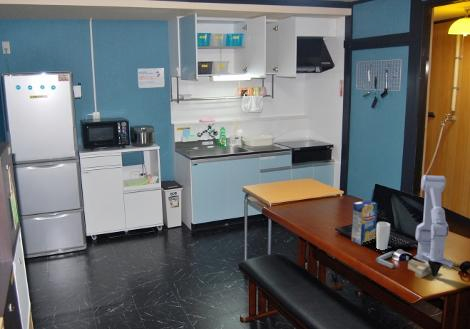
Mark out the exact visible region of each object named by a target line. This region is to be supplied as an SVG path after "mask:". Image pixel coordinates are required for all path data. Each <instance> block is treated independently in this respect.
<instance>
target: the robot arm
mask: <svg viewBox="0 0 470 329" xmlns="http://www.w3.org/2000/svg"><path fill="white" fill-rule="evenodd" d="M446 183H447V181H446V177H445V176H444V175H428V174H423V175H422V177H421V182H420V188H421V191H424V200H423V201H424V203H423V204H424V205H423V218H422V219H423V220H422V222H421V223H419V224H417V226H416V229H415V240H416V241H417V244H418V245H417V251H416V252H417V253H416V255H414V256H413V258H414V259H416V260H417V261H421V262H422V263H423V262H424V263H426V262H428V264H429V266H430V268H431V276H432V277H437V276H438V274H439V271H440V270H441V268H442V266H443V265H445V266H447V267H449V268H452V267H453V266H454V262H453V261H451V260H448V259H447V258H445V257H444V255H445V247H446V237H448V236H449V224H448V222H447V221H446V213H445V209H444V208H443V207H442V192H443V191H444V189H445V188H446ZM413 258H412V259H413Z"/></svg>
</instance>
